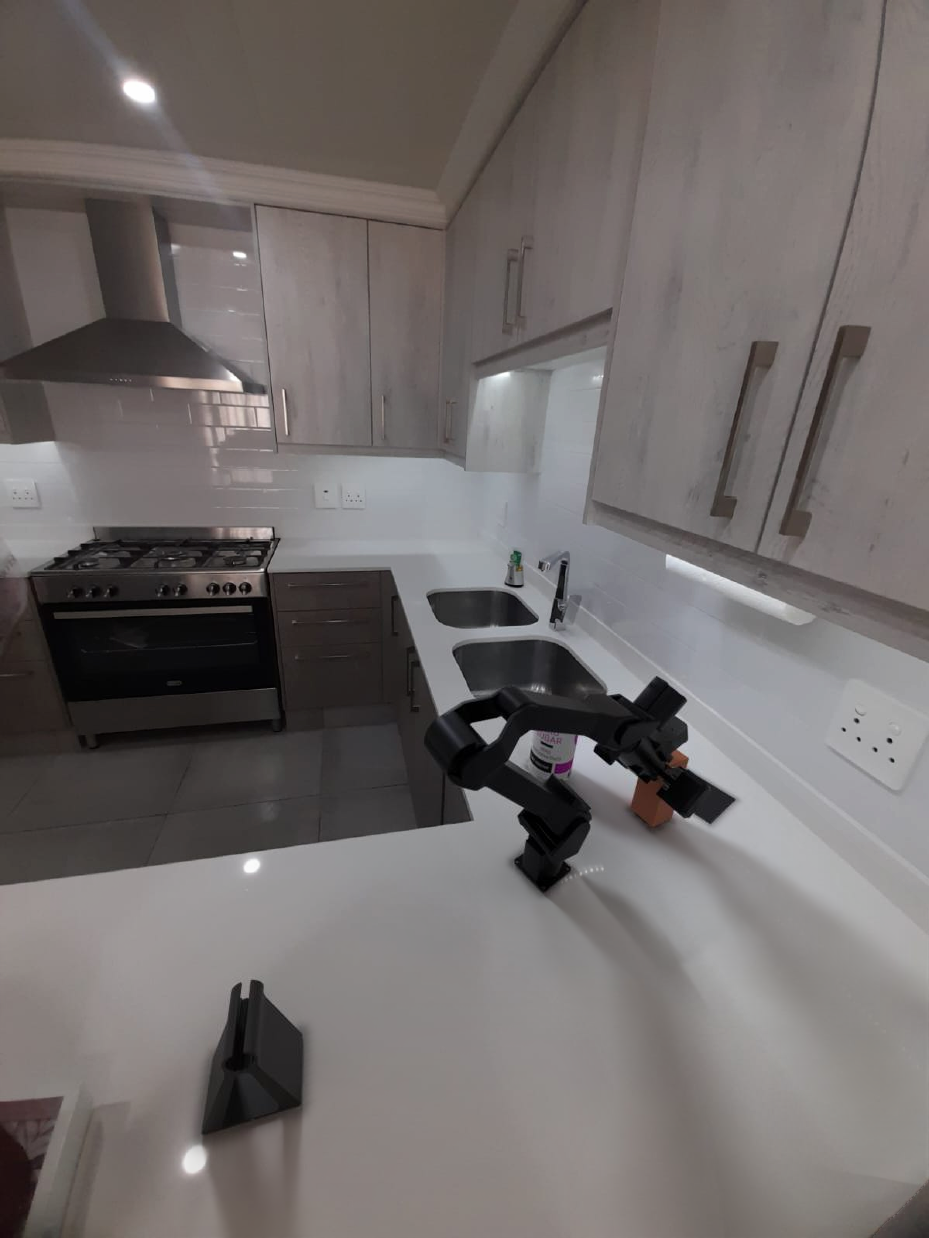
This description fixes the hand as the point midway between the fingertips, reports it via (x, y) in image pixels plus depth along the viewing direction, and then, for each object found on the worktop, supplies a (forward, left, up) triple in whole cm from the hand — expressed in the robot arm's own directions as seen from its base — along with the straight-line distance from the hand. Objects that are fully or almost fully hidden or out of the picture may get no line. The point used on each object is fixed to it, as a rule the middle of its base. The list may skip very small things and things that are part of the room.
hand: (664, 781), depth 85 cm
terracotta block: (-1, 0, -7) cm, 7 cm away
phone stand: (-68, +4, -7) cm, 69 cm away
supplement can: (-8, +18, -7) cm, 21 cm away
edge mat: (+11, -1, -7) cm, 13 cm away
